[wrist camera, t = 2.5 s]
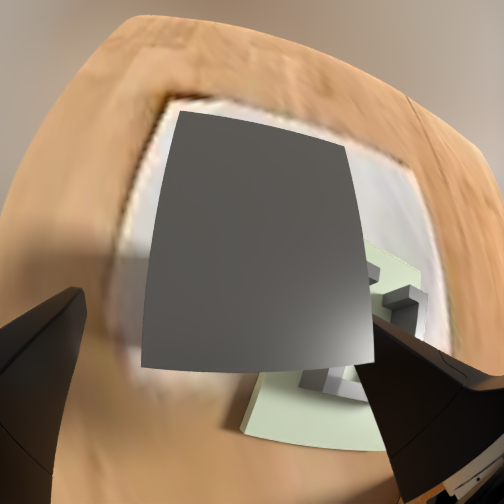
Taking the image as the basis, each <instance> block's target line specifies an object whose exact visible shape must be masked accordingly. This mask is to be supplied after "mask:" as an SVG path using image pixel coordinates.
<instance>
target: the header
mask: <svg viewBox="0 0 504 504" xmlns="http://www.w3.org/2000/svg"><path fill="white" fill-rule="evenodd" d="M363 240H364V246H365V253H366V260H367V268H368V277H369V286H370V296H371V308H372V313H373V314H375V315H376V316H378V317H380V318H382V319H384V320H386V321H387V322H389V323H391V324H393V325H395V326H396V327H398V328H400V329H402V330H404V331H406V332H407V333H409V334H411V335H413V336H415V337H416V338H418V339H420V340H422V341H423V338H424V331H425V322H426V313H427V301H428V294H427V293H425V292H423V291H421V290H420V283H421V272H420V271H418V270H417V269H415V268H413V267H412V266H410V265H408V264H407V263H405V262H403V261H402V260H400V259H398V258H397V257H395V256H393V255H391V254H390V253H388V252H386V251H385V250H383V249H381V248H379V247H378V246H376V245H374V244H372V243H370V242H369V241H367V240H365V239H363ZM239 429H240V430H241V431H242V432H243V433H244V434H246V435H251V436H255V437H259V438H264V439H269V440H274V441H279V442H285V443H291V444H297V445H304V446H312V447H320V448H330V449H342V450H360V451H386V449H385V446H384V443H383V440H382V437H381V435H380V432H379V429H378V426H377V424H376V421H375V418H374V416H373V413H372V410H371V408H370V405H369V402H368V400H367V397H366V395H365V392H364V390H363V387H362V385H361V382H360V380H359V377H358V375H357V372H356V370H355V367H354V365H351V366H343V367H334V368H324V369H314V370H301V371H284V372H260V373H259V376H258V379H257V382H256V385H255V387H254V390H253V393H252V396H251V399H250V401H249V404H248V407H247V410H246V412H245V415H244V418H243V420H242V423H241V426H240V428H239Z"/></svg>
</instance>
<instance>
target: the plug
mask: <svg viewBox="0 0 504 504" xmlns="http://www.w3.org/2000/svg"><path fill="white" fill-rule="evenodd" d="M372 362H374V340H373V321H372V308H371V296H370V286H369V277H368V268H367V260H366V253H365V246H364V240H363V233H362V227H361V221H360V216H359V210H358V205H357V200H356V195H355V190H354V185H353V181H352V176H351V172H350V168H349V164H348V159H347V155H346V151H345V148H344V146H341V145H338V144H335V143H331V142H328V141H325V140H321V139H318V138H314V137H311V136H307V135H304V134H300V133H296V132H292V131H288V130H284V129H280V128H276V127H272V126H267V125H263V124H258V123H254V122H249V121H244V120H238V119H233V118H227V117H221V116H215V115H209V114H202V113H195V112H187V111H180V113H179V116H178V120H177V123H176V127H175V131H174V135H173V139H172V143H171V147H170V151H169V155H168V159H167V164H166V168H165V172H164V177H163V182H162V187H161V192H160V197H159V202H158V207H157V213H156V219H155V225H154V231H153V237H152V244H151V251H150V259H149V266H148V275H147V284H146V294H145V305H144V317H143V333H142V354H141V367H144V368H154V369H164V370H177V371H193V372H221V373H257V372H284V371H301V370H314V369H324V368H334V367H343V366H351V365H358V364H365V363H372Z"/></svg>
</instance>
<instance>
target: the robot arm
mask: <svg viewBox="0 0 504 504" xmlns="http://www.w3.org/2000/svg"><path fill="white" fill-rule="evenodd" d="M86 317H87V308H86V302H85V295H84V291H83V289H82V288H78V287H69V288H67V289H66V290H64V291H62V292H60V293H59V294H57V295H55V296H53V297H52V298H50V299H48V300H46V301H45V302H43V303H41V304H40V305H38V306H36V307H35V308H33V309H31V310H30V311H28V312H26V313H25V314H23V315H21V316H20V317H18V318H16V319H15V320H13V321H12V322H10V323H8V324H7V325H5V326H4V327H2V328H0V504H51V489H52V478H53V477H52V475H53V467H54V460H55V453H56V446H57V440H58V435H59V430H60V425H61V420H62V415H63V411H64V406H65V402H66V398H67V394H68V390H69V387H70V383H71V379H72V376H73V372H74V369H75V365H76V362H77V358H78V354H79V349H80V344H81V339H82V335H83V330H84V326H85V321H86ZM372 321H373V340H374V362H372V363H365V364H358V365H354V367H355V370H356V372H357V375H358V377H359V380H360V382H361V385H362V387H363V390H364V392H365V395H366V397H367V400H368V402H369V405H370V408H371V410H372V413H373V416H374V418H375V421H376V424H377V426H378V429H379V432H380V435H381V437H382V440H383V443H384V446H385V449H386V451H387V454H388V457H389V461H390V464H391V467H392V470H393V473H394V476H395V479H396V482H397V485H398V488H399V492H400V495H401V498H402V501H403V503H404V504H406V503H408V502H410V501H412V500H414V499H415V498H417V497H419V496H421V495H422V494H424V493H426V492H428V491H429V490H431V489H433V488H434V487H436V486H437V485H439V484H441V483H442V484H443V485H444V487H445V488H444V489H442V490H441V491H439V492H438V493H437V494H435V495H434V496H432V497H431V498H430V499H428V500H427V501H426V504H504V375H503V376H491V375H488V374H486V373H484V372H481V371H479V370H477V369H475V368H473V367H471V366H469V365H467V364H465V363H463V362H461V361H459V360H457V359H455V358H453V357H451V356H449V355H447V354H445V353H444V352H442V351H440V350H437V349H436V348H435V347H433V346H431V345H429V344H427V343H425V342H424V341H422V340H420V339H418V338H416V337H415V336H413V335H411V334H409V333H407V332H406V331H404V330H402V329H400V328H398V327H396V326H395V325H393V324H391V323H389V322H387V321H386V320H384V319H382V318H380V317H378V316H376V315H375V314H373V313H372Z"/></svg>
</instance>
